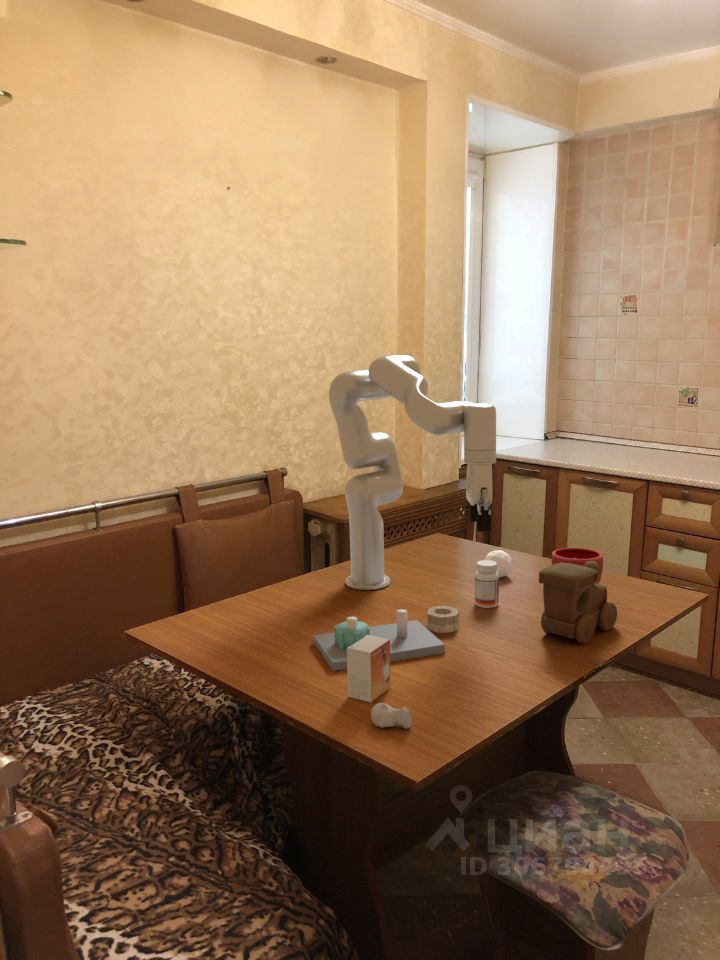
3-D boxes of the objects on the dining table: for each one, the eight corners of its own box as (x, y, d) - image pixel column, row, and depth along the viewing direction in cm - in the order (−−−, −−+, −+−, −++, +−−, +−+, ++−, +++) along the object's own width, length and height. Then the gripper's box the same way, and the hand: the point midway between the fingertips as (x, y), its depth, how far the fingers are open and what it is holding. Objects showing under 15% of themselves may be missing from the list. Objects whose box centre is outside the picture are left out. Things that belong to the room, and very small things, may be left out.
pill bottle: (485, 598, 211) (486, 557, 209) (503, 604, 206) (504, 562, 204) (469, 604, 207) (469, 562, 205) (487, 610, 202) (488, 567, 200)
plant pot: (612, 597, 210) (613, 553, 208) (578, 607, 203) (580, 562, 200) (573, 584, 221) (574, 542, 218) (540, 594, 213) (541, 551, 211)
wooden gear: (422, 624, 194) (422, 608, 194) (451, 619, 197) (451, 604, 196) (434, 634, 187) (434, 618, 187) (464, 630, 190) (464, 614, 189)
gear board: (313, 643, 184) (312, 610, 182) (416, 627, 192) (416, 596, 191) (333, 671, 169) (332, 636, 168) (444, 652, 177) (444, 618, 176)
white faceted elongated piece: (484, 570, 223) (470, 563, 235) (507, 585, 225) (492, 577, 236) (499, 547, 223) (484, 541, 235) (521, 562, 225) (506, 555, 237)
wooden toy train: (577, 651, 176) (579, 580, 173) (533, 638, 184) (534, 569, 181) (621, 626, 190) (624, 559, 187) (578, 615, 198) (580, 550, 195)
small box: (371, 703, 154) (370, 653, 152) (347, 697, 157) (345, 647, 155) (391, 687, 161) (390, 638, 159) (368, 681, 164) (367, 633, 162)
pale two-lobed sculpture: (366, 730, 147) (380, 712, 151) (404, 741, 142) (417, 722, 146) (362, 713, 145) (376, 694, 149) (399, 723, 141) (413, 704, 144)
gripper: (458, 451, 197) (459, 518, 200) (470, 462, 180) (470, 535, 183) (488, 450, 197) (488, 517, 200) (503, 461, 180) (503, 534, 183)
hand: (480, 526), depth 192 cm, fingers open, 9 cm apart
